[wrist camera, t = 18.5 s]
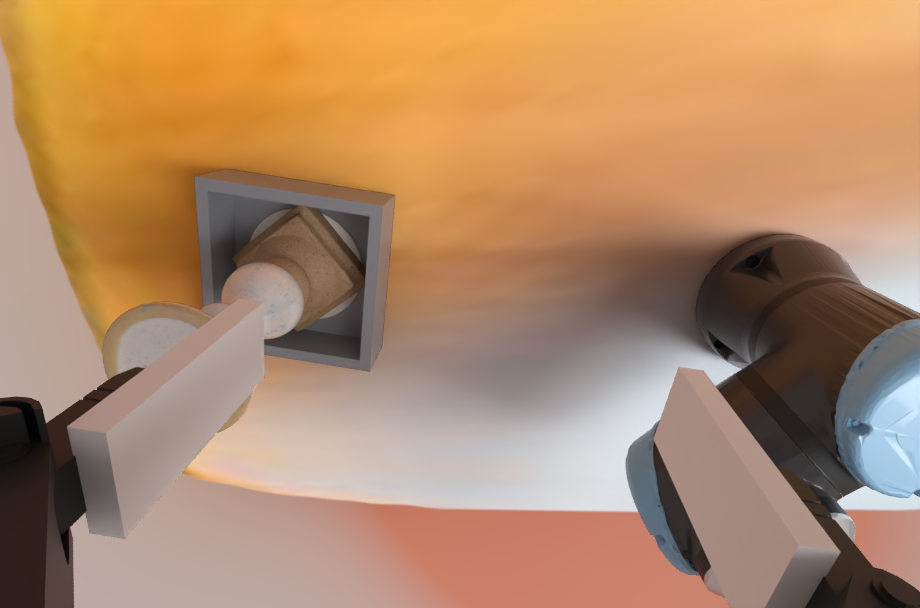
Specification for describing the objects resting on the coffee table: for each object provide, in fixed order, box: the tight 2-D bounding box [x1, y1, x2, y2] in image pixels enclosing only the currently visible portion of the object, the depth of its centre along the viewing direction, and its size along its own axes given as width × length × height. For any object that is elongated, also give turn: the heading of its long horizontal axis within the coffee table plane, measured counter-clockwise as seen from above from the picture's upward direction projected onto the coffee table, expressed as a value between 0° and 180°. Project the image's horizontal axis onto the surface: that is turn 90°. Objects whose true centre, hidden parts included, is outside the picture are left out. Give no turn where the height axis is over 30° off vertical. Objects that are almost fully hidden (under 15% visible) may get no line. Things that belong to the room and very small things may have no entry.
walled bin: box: [194, 169, 395, 372], centre depth 53 cm, size 18×18×6 cm
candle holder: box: [102, 205, 366, 433], centre depth 44 cm, size 11×11×24 cm
